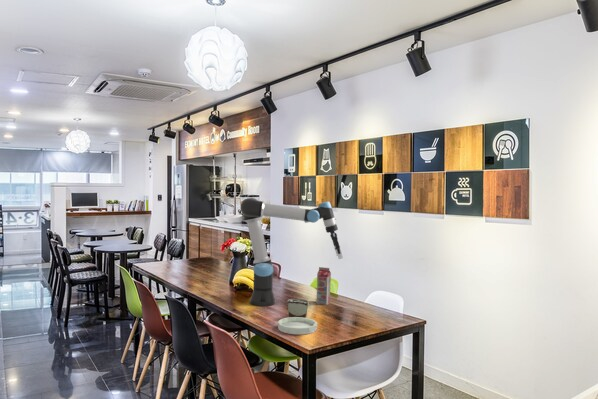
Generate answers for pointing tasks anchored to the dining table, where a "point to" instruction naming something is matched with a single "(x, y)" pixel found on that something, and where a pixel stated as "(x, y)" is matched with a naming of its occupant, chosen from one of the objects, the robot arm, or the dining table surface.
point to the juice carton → (323, 286)
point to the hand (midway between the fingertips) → (339, 257)
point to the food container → (297, 307)
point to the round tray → (297, 325)
